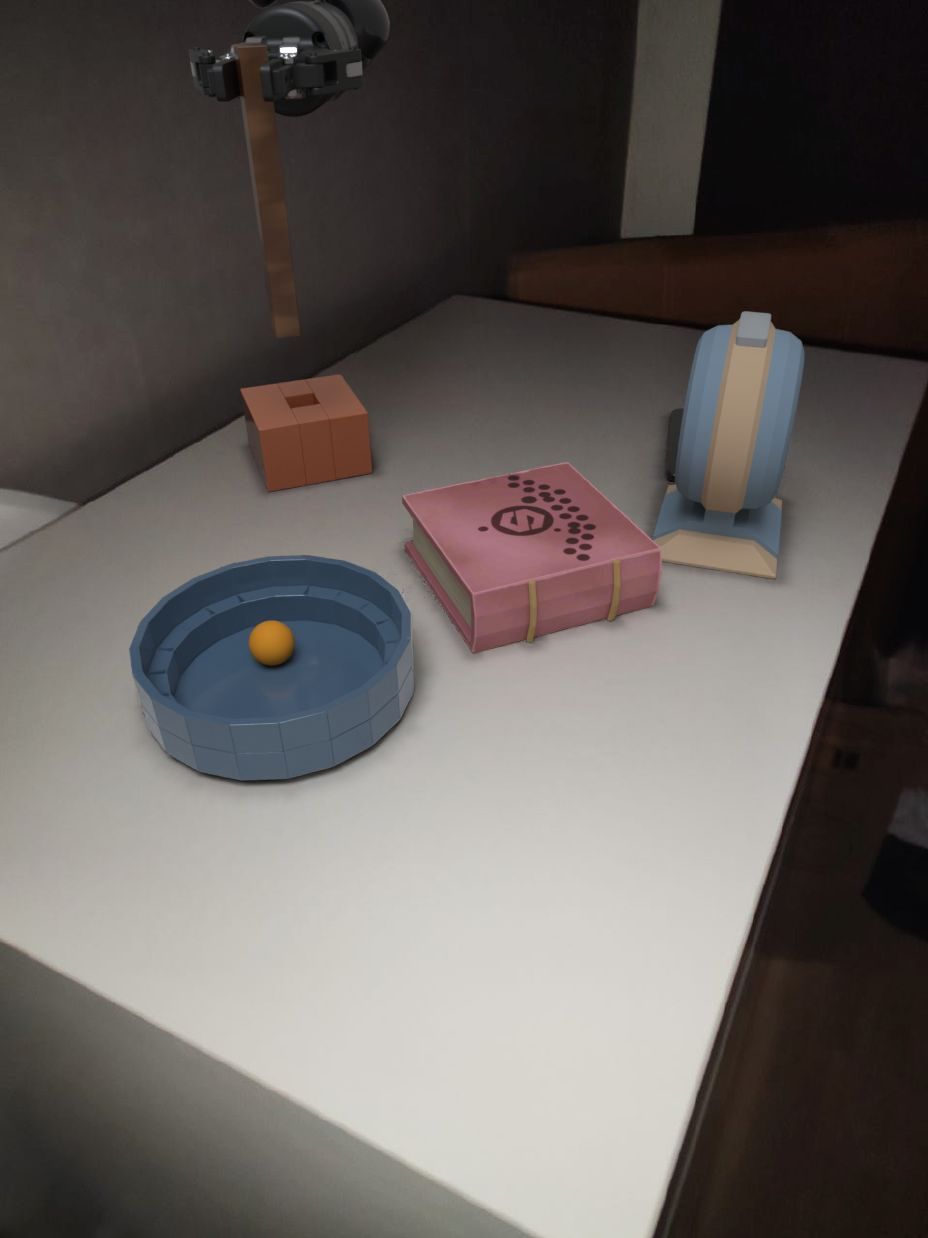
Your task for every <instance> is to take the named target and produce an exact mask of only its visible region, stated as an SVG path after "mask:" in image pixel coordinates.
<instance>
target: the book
mask: <svg viewBox="0 0 928 1238" xmlns="http://www.w3.org/2000/svg"><path fill="white" fill-rule="evenodd" d="M401 503H402V506H403V507H404V508H405V510H406V511H407V512H408V514H409V516H410V517H411V518H412V528H413V529H412V532H413V539H412V540H410V541H405V542H404V551H405V552H406V554H407V556H408V557H409V559H410V560H411V562H412V564H414V566H415V568H416V570H418V573H419V574H420V575H421V577H422V578H423V580H424V581H425V583H426V585H427V586H428V587H429V589H430V590H431V592H432V593H433V595H434V596H435V598H436V600H437V601H438V603H439V604H440V606H441V608H443V610H444V612H445V613H446V615H447V616H448V618H449V619H450V621H451V622H452V624H453V625H454V627H455V629H456V630H457V631H458V633H459V635H460V636H461V638H462V639H463V641H464V642H465V644H466V645H467V647H468V649H470V652H471V653H472V654H475V653H479V652H483V651H487V650H490V649H494V648H495V649H496V648H497V647H502V646H506V645H510V644H513V643H517V642H521V641H525V642H527V643H529V644H531V643H533V642H534V641H533V640H534V638H537V637H540V636H544V635H548V634H551V633H555V632H559V631H563V630H567V629H571V628H574V627H578V626H581V625H586V624H590V623H594V622H597V621H601V620H605V619H606V621H608V622H613V621H614V619H615V617H617V616H620V615H624V614H628V613H632V612H635V611H640V610H643V609H647V608H651V607H654V605H655V602H656V600H657V597H658V594H659V591H660V585H661V580H662V579H661V578H662V572H663V568H662V567H663V566H662V564H663V561H662V560H661V548H660V547H659V546H658V545H657V544H656V543H655V542H654V541H653V538H651V537H649V536H648V535H647V534H646V533H645V532H644V531H643V530H642V529H641V528H640V527H639V526H638V525H636V523H635V522H634V521H632V520H631V519H630V518H629V517H628V515H626V514H625V513H624V512H623V511H622V510H620V509H619V508H618V507H617V506H616V505H615V504H614V503H613V502H612V501H611V500H610V499H609V498H607V496H605V495H604V493H602V492H601V491H600V490H598V489H597V487H595V486H594V485H593V483H591V482H590V481H589V480H588V479H587V478H586V477H585V476H584V475H582V473H580V471H578V470H577V469H576V468H575V467H574V466H573V465H571V463H570V462H568V461H565V462H560V463H555V464H550V465H545V466H540V467H536V468H530V469H526V470H520V471H516V472H515V471H514V472H511V473H510V472H509V473H506V474H500V475H495V476H491V477H486V478H481V479H480V478H479V479H476V480H471V481H466V482H461V483H455V484H450V485H447V486H441V487H436V488H432V489H431V488H430V489H427V490H426V489H425V490H421V491H416V492H411V493H407V494H401Z"/></svg>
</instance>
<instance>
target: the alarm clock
mask: <svg viewBox="0 0 928 1238" xmlns="http://www.w3.org/2000/svg"><path fill="white" fill-rule="evenodd" d="M771 320H772V314H771V313H768V312H759V311H758V312H757V311H742V312H741V314H740V318H739V319H738V320H737V321H735V322H734V323H733V324H719V325H716V326H714V327H712V328H709V329H708V330H706V331H704V332H703V334H702V335H701V337H700V338H699V339H698V342H697V344H696V348H695V351H694V356H693V360H692V365H691V369H690V374H689V378H688V385H687V389H686V395H685V400H684V406H683V409H684V412H683V418H682V424H681V430H680V437H679V444H678V451H677V459H676V468H675V481H674V483H675V484H668V485H667V488H666V493H665V494H664V498H663V501H662V504H661V508H660V510H659V511H660V512H659V515H658V518H657V522H656V524H655V528H654V529H655V530H654V532H653V535H652V540H653V541H654V542H655V543H656V544H657V545H658V546H659V547H660V548H661V560H662V563H663V562H664V563H669V564H670V563H671V564H677V565H682V566H683V565H684V566H689V567H690V566H691V567H695V568H703V569H709V570H715V571H721V572H727V573H728V572H729V573H733V574H740V575H746V576H751V577H753V576H754V577H759V578H764V579H771V580H776V578H777V569H778V559H779V558H778V557H779V552H780V540H781V538H780V537H781V529H782V528H781V527H782V515H783V509H782V507H783V500H782V499H779V498H777V497H776V496H777V494H778V492H779V490H780V486H781V482H782V478H783V475H784V472H785V466H786V461H787V458H788V453H789V448H790V444H791V440H792V434H793V430H794V425H795V419H796V414H797V409H798V404H799V398H800V392H801V387H802V379H803V374H804V368H805V355H806V354H805V353H806V352H805V349H804V346H803V342H802V340H801V339H799V338H798V337H797V336H796V335H795V334H793V333H792V332H791V331H787V330H783V329H778V328H776V327H775V325H774V324H773V322H772V321H771Z"/></svg>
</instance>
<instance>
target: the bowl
mask: <svg viewBox="0 0 928 1238" xmlns="http://www.w3.org/2000/svg"><path fill="white" fill-rule="evenodd" d="M405 601H406V600H404V598H403V596H402V594H401V592H400V591H399V589H398V588H396V586H394V585H393V584H392V583H390V582H388V581H387V580H386V579H385V578H383V577H382V576H381V575H379V573H377V572H375V571H373V570H370V569H369V568H365V567H363V566H360V565H357V564H354V563H352V562H349V561H347V560H344V559H337V558H332V557H331V558H330V557H323V556H316V555H311V554H309V555H308V554H299V555H295V554H294V555H270V556H263V557H258V558H254V559H248V560H243V561H242V560H241V561H237V562H233V563H229V564H227V565H226V564H225V565H224V566H221V567H219V568H216V569H213V570H211V571H208V572H206V573H203V574H199V575H197V576H195V577H192V578H191V579H189V580H188V581H186V582H184V583H183V584H182V585H180V586H178V587H177V588H175V589H174V590H172V591H171V592H169V593H167V594H165V595H164V596H162V597H161V598H160V599H159V601H158V602H156V604H155V605H154V606H153V607H152V608H151V609H150V610H149V611H148V612H147V613H146V615H144V617H143V618H141V620H140V621H139V623H138V626H137V628H136V631H135V633H134V636H133V638H132V640H131V643H130V646H129V649H128V650H129V658H130V665H131V667H130V668H131V675H132V679H133V681H134V685H135V689H136V691H137V696H138V698H139V701H140V705H141V709H142V712H143V715H144V719H145V722H146V726H147V728H148V730H149V732H150V733H151V734H152V736H153V737H154V738H155V739H156V741H157V742H158V744H159V745H160V746H161V748H162V749H163V750H164V752H165V753H166V754H167V755H168V756H171V757H172V758H174V759H176V760H177V761H179V762H181V763H183V764H185V765H187V767H190V768H192V769H194V770H195V771H198V772H200V773H203V774H208V775H213V776H218V777H223V778H228V779H233V780H237V781H263V780H264V781H265V780H266V781H267V780H288V779H293V778H297V777H300V776H304V775H307V774H311V773H315V772H318V771H322V770H327V769H330V768H333V767H335V766H338V765H340V764H341V763H343V762H346V761H347V760H349V759H351V758H352V757H354V756H357V755H358V754H360V753H363V751H365V750H368V749H369V748H371V747H373V746H374V745H375V744H376V743H378V741H379V740H380V739H381V738H383V737H384V736H385V735H386V733H388V732H389V731H390V730H391V729H392V728H393V727H394V726H395V725H396V724H397V723H398V722H399V721H400V720H401V718H402V717H403V714H404V712H405V710H406V708H407V707H408V704H409V702H410V700H411V699H412V696H413V694H414V690H415V686H414V685H415V684H414V683H415V681H414V680H415V677H414V676H415V668H414V667H415V663H414V645H413V643H414V642H413V627H412V625H413V624H412V613H411V611H410V609H409V607H408V605H407V603H406V602H405ZM271 620H273V621H279V622H281V623H283V624H285V625H286V626H287V627H288V628H289V629H290V630H291V631H292V633H293V636H294V640H295V646H294V650H293V653H292V654H291V656H290V657H289V658H288V659H287V660H286V661H285V662H283V663H281V664H279V665H274V666H270V665H265V664H262V663H260V662H258V661H257V660H256V659H255V658H254V657H253V655H252V654H251V652H250V649H249V637H250V635H251V632H252V631H253V629H254V628H255V627H256V626H257V625H259V624H260V623H262V622H265V621H271Z"/></svg>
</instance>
